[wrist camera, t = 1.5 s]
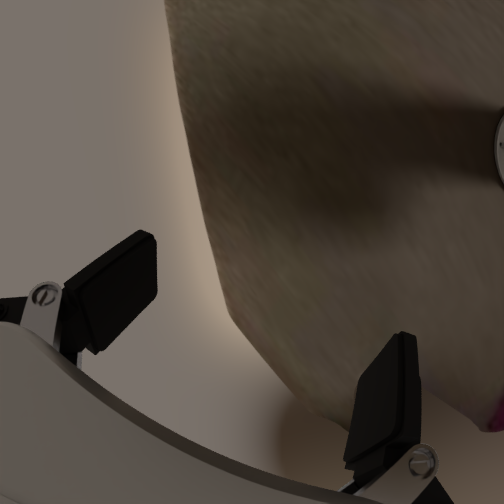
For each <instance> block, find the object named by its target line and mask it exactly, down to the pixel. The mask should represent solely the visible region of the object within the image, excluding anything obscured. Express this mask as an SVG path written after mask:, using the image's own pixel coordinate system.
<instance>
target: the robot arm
mask: <svg viewBox="0 0 504 504" xmlns="http://www.w3.org/2000/svg"><path fill="white" fill-rule="evenodd" d="M494 153H495V161H496V166H497V169H498V173H499V175H500V178H501V180H502V182H503V183H504V115H503V117H502V118H501V119H500V122H499V124H498V127H497V130H496V134H495V143H494ZM64 286H65V287H64V288H63V289H61V287H60V286H59V285H58V284H57V283H55V282H43V283H40V284H38V285H37V286H35V287H34V288H33V289H32V290H31V291H30V293H29V296H28V297H15V298H1V299H0V504H454V503H453V501H452V500H451V498H450V497H449V495H448V494H447V493H446V491H445V490H444V488H443V487H442V485H441V484H440V482H439V481H438V479H437V478H436V477H435V475H436V473H437V471H438V467H439V460H438V455H437V453H436V452H435V450H434V449H433V448H432V447H431V446H429V445H427V444H420V437H421V379H420V376H419V364H418V350H417V339H416V336H415V335H412V334H409V333H406V332H403V331H401V332H400V333H399V334H397V333H395V334H394V335H393V336H392V338H391V339H390V340H389V342H388V343H387V344H386V345H385V347H384V348H383V349H382V351H381V352H380V353H379V354H378V356H377V357H376V358H375V359H374V361H373V362H372V363H371V364H370V365H369V367H368V368H367V369H366V370H365V371H364V373H363V374H362V375H361V377H360V379H359V381H358V386H357V393H356V399H355V404H354V410H353V415H352V420H351V426H350V430H349V435H348V440H347V444H346V448H345V453H344V458H343V459H344V461H345V462H346V465H345V469H348V470H353V471H354V476H353V480H351V481H350V482H349V483H347V484H346V485H345V486H343V487H342V488H340V489H339V490H338V491H333V490H328V489H324V488H320V487H316V486H311V485H308V484H304V483H301V482H297V481H294V480H290V479H287V478H283V477H280V476H276V475H273V474H271V473H268V472H265V471H262V470H259V469H256V468H253V467H251V466H248V465H245V464H242V463H240V462H238V461H235V460H232V459H230V458H228V457H225V456H223V455H220V454H218V453H216V452H214V451H212V450H210V449H207V448H205V447H203V446H201V445H199V444H197V443H195V442H193V441H191V440H188V439H187V438H185V437H183V436H181V435H179V434H177V433H175V432H173V431H172V430H170V429H168V428H166V427H164V426H162V425H161V424H159V423H157V422H156V421H154V420H152V419H150V418H149V417H147V416H145V415H144V414H142V413H141V412H139V411H137V410H136V409H134V408H133V407H131V406H130V405H128V404H127V403H125V402H124V401H122V400H121V399H119V398H118V397H116V396H115V395H113V394H112V393H110V392H109V391H107V390H106V389H105V388H103V387H102V386H101V385H99V384H98V383H97V382H95V381H94V380H93V379H91V378H90V377H89V376H88V375H86V374H85V373H84V372H83V371H81V364H82V351H83V349H84V348H85V347H86V348H87V349H88V350H89V351H90V352H92V353H93V354H94V355H97V353H98V352H99V351H104V350H105V349H106V348H107V347H108V346H109V345H110V344H111V343H112V342H113V341H114V340H115V338H117V337H118V336H119V335H120V333H121V332H122V331H123V330H124V329H125V328H126V327H127V326H128V325H129V324H130V323H131V322H132V321H133V320H134V319H135V318H136V317H137V316H138V315H139V314H140V313H141V312H142V311H143V310H144V309H145V308H146V307H147V306H148V305H149V304H150V303H151V301H153V300H154V299H155V297H156V295H157V291H158V290H157V242H156V240H155V239H154V236H153V235H152V234H150V233H148V232H146V231H143V230H138V231H136V232H135V233H133V234H132V235H130V236H129V237H128V238H126V239H125V240H123V241H121V242H120V243H118V244H117V245H116V246H114V247H113V248H111V249H110V250H109V251H107V252H106V253H104V254H103V255H101V256H100V257H99V258H97V259H96V260H94V261H93V262H92V263H90V264H89V265H87V266H86V267H85V268H83V269H82V270H81V271H80V272H78V273H77V274H75V275H74V276H73V277H72V278H70V279H69V280H67V281H66V282H65V283H64Z"/></svg>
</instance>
